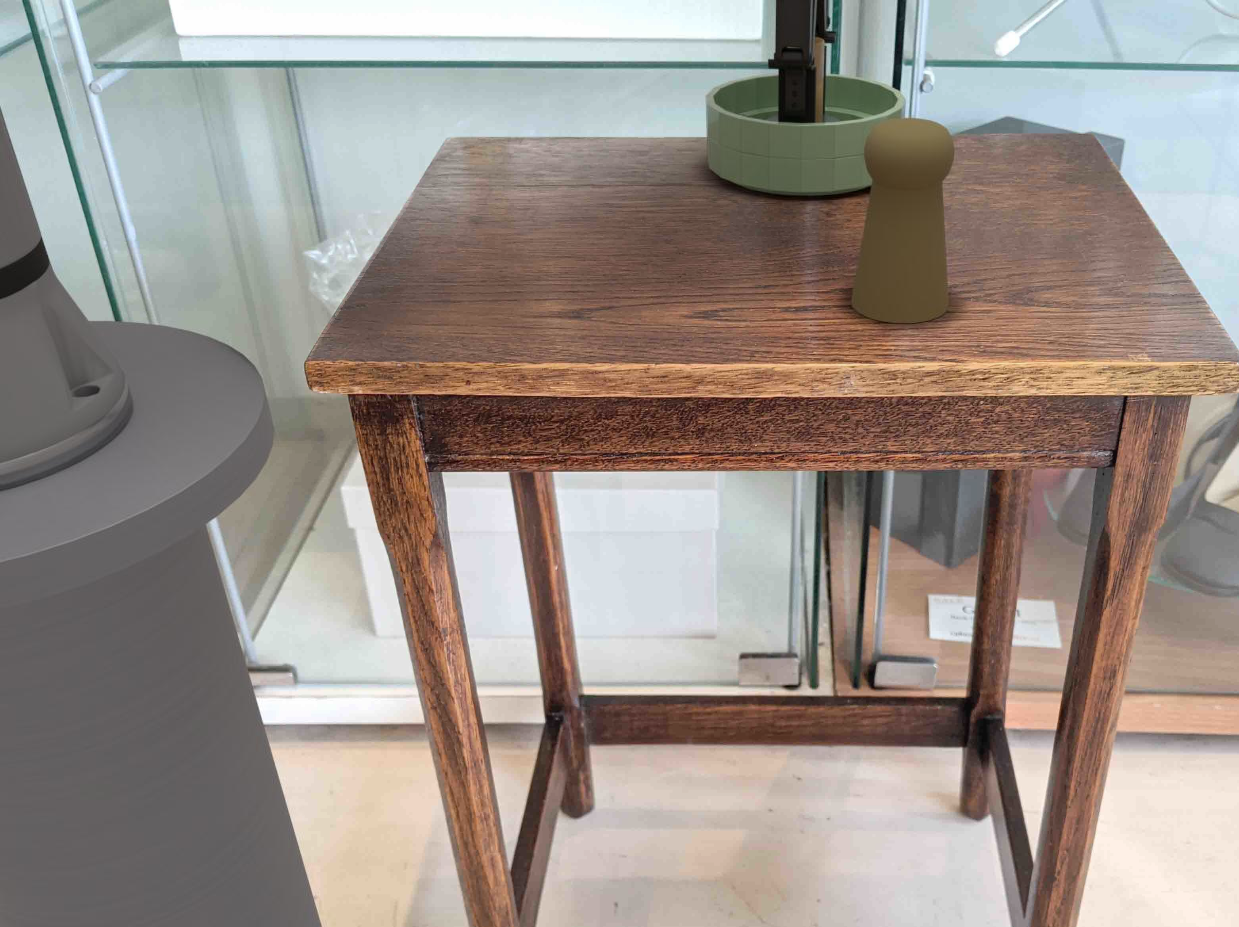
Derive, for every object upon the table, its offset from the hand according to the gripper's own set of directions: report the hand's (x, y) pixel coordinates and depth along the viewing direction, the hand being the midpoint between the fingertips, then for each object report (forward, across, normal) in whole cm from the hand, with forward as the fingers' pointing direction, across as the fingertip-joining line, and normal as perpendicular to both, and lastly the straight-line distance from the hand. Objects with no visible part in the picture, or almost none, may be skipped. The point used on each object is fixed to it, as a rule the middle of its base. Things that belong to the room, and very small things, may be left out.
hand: (801, 144), depth 101 cm
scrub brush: (+1, 0, 0) cm, 1 cm away
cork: (+2, -25, -9) cm, 27 cm away
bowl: (+2, +1, 0) cm, 2 cm away
